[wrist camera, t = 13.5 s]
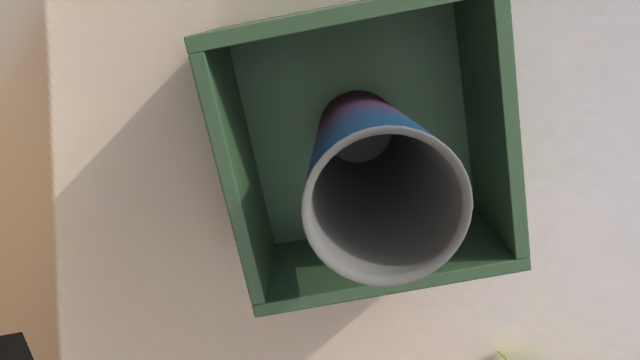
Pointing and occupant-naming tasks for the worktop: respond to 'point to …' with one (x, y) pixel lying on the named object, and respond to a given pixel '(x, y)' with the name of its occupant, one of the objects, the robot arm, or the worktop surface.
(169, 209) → the worktop surface
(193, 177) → the worktop surface
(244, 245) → the bin
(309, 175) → the cup
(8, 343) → the robot arm
